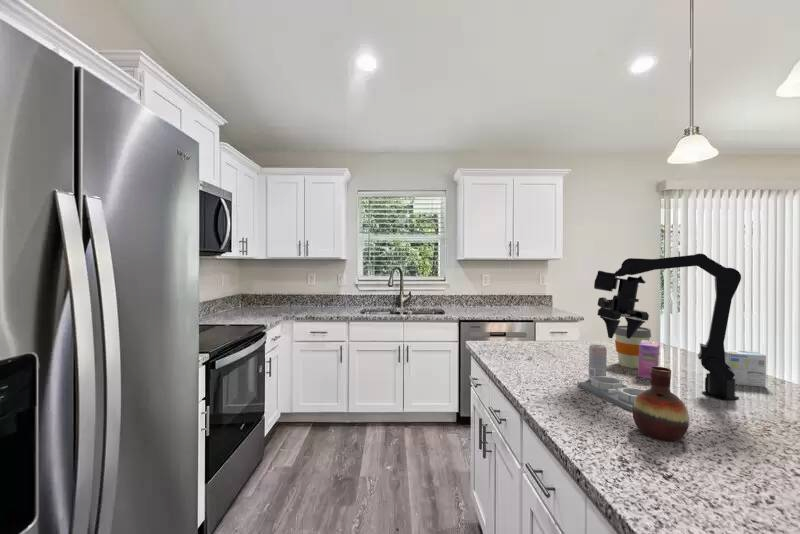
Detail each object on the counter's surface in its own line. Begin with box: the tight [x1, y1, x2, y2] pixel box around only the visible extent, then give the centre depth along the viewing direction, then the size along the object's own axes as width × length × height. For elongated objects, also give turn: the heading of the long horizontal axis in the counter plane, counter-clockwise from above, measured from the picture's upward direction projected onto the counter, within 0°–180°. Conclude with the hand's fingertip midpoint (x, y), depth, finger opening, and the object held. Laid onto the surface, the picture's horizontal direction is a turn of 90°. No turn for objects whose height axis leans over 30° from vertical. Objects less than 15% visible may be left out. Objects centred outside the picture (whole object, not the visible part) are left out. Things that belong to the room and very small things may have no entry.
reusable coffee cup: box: [614, 325, 652, 369], centre depth 153 cm, size 13×13×15 cm
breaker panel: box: [577, 375, 646, 412], centre depth 116 cm, size 22×13×3 cm, turn 12°
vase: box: [631, 366, 690, 442], centre depth 90 cm, size 11×11×15 cm
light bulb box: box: [724, 349, 767, 388], centre depth 131 cm, size 11×7×11 cm, turn 74°
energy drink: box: [588, 344, 608, 382], centre depth 131 cm, size 5×5×12 cm
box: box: [637, 340, 660, 380], centre depth 139 cm, size 10×6×12 cm, turn 143°
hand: (619, 338), depth 133 cm, fingers open, 9 cm apart
